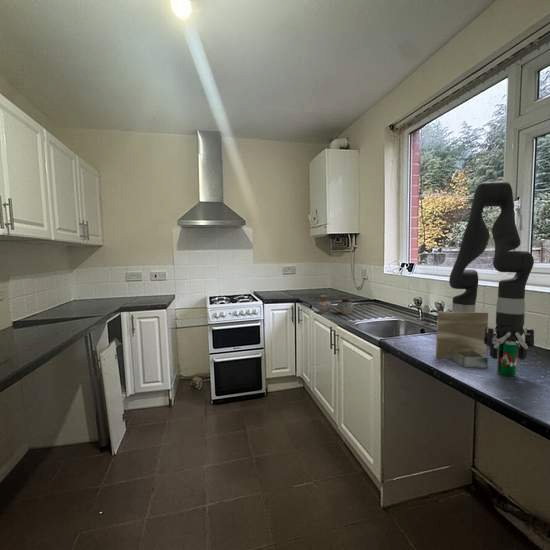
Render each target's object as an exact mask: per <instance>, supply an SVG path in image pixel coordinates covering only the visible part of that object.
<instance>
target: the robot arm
mask: <svg viewBox="0 0 550 550" xmlns="http://www.w3.org/2000/svg"><path fill="white" fill-rule="evenodd" d="M513 193H514V192H513V188H512V185H511V184H510V183H509V182H508V181H482V182H480V183H479V184H478V185H477V186H476V189H475V191H474V194H473V198H472V202H471V207H470V214H469V216H468V221H467V224H466V227H465V231H464V233H463V236H462V239H461V243H460V247H459V250H458V254H457V257H456V259H455V262H454V265H453V267H452V269H451V271H450V275H449V279H448V280H449V281H448V282H449V286H450V287H451V288H452V289H456V290H465V291H463V293H461V294H458V295H455V296H453V297H452V303H451V306H452V307H451V312H476V301H477V298H478V286H479V273H478V272H477V270H475V269H467V267H468V266H469V265H470V264H471V263H472V262H473V261H474V260H476V259H478V258H479V257H480V256H481V255H482V254H483V253H484V251H485V250H486V249H487V248H486V247H488V246H487V245H488V243H489V240H490V231H489V229H488V226H487V224H486V223H485V221H484V218H483V210H484V208H485V207H500V213H499V215H498V216H497V217H496V218H495V221H494V223H493V225H492V228H491V236H492V238H493V242H494V254H493V255H494V256H493V262H492V265H493V268H494V269H495V270H496V271H497V272H499V273H515V274H514V276H513V277H511V278H506V279H501V280H500V281H498V285H497V286H498V292H497V300H496V310H495V328H494V327H489V326H488V327H486V328H485V337H484V344H486V345H487V346H488V347H489V355H490V357H491V358H492V359H494V360H498V349H499V345H500V344H502V343H503V342H504V341H517V344H518V350H517V359H520V360H521V361H524V360H526V358H527V354H528V353H527V352H528V349H529V348H534V347H535V330H534V329H532V328H529V327H525V328H524V326H525V314H526V313H525V312H526V303H525V302H526V301H525V300H526V299H525V296H526V294H525V293H526V285H527V282H528V279H529V277H530V274H531V272H532V269H534V268H533V267H534V265H535V260H534V259H535V258H534V256H533V254H532V253H531V252H529V251H526V250H516V249H518V248H519V247H520V246H521V238H520V235H519V232H518V228H517V224H516V219H515V206H514V204H515V203H514V194H513ZM494 335H495V336H494ZM523 335H524V338H523V337H522V336H523Z"/></svg>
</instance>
